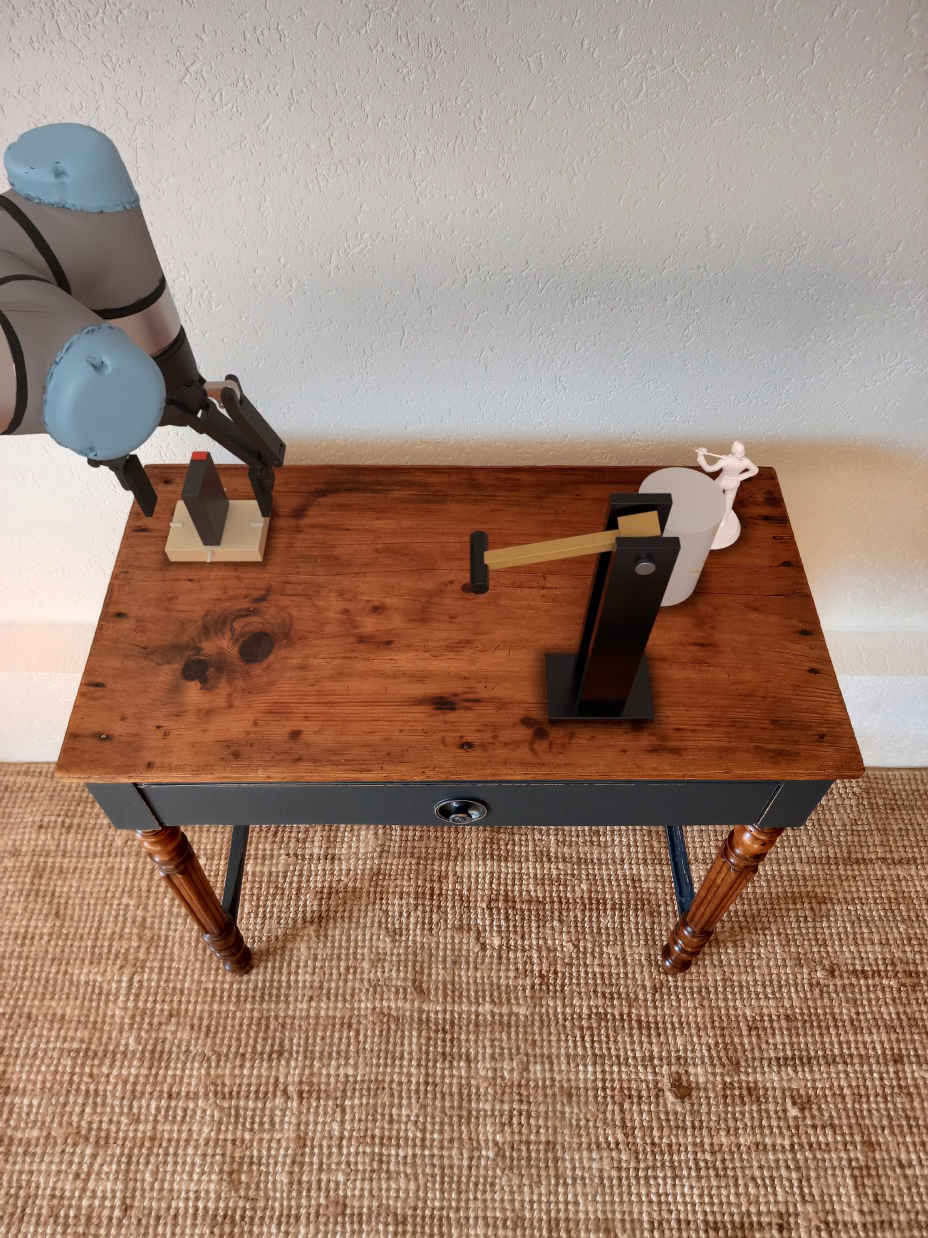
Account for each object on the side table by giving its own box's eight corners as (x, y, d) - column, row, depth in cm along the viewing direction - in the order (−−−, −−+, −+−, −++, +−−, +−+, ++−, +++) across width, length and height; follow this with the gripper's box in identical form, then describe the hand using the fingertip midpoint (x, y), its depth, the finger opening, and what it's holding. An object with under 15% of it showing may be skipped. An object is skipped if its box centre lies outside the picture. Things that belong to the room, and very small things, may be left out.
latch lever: (474, 599, 60) (465, 581, 58) (474, 546, 63) (465, 528, 61) (665, 570, 57) (663, 550, 55) (656, 516, 60) (654, 495, 58)
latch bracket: (547, 723, 76) (577, 559, 54) (543, 659, 80) (570, 482, 58) (652, 723, 76) (724, 559, 54) (644, 659, 80) (708, 482, 58)
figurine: (736, 501, 91) (769, 421, 81) (744, 550, 87) (779, 474, 77) (672, 498, 91) (697, 418, 81) (677, 547, 87) (704, 470, 77)
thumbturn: (220, 546, 85) (197, 494, 78) (203, 546, 85) (179, 493, 78) (229, 503, 89) (209, 449, 82) (213, 503, 89) (191, 449, 82)
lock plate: (166, 573, 86) (159, 561, 84) (184, 501, 92) (179, 488, 90) (261, 573, 86) (256, 561, 84) (273, 500, 91) (269, 488, 90)
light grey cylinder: (701, 606, 83) (732, 533, 73) (622, 605, 83) (643, 532, 73) (690, 544, 87) (719, 467, 77) (616, 543, 88) (634, 466, 78)
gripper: (287, 306, 68) (326, 481, 87) (8, 306, 69) (106, 480, 87) (274, 365, 64) (318, 535, 82) (-22, 364, 65) (87, 534, 83)
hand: (209, 507), depth 85 cm, fingers open, 12 cm apart
